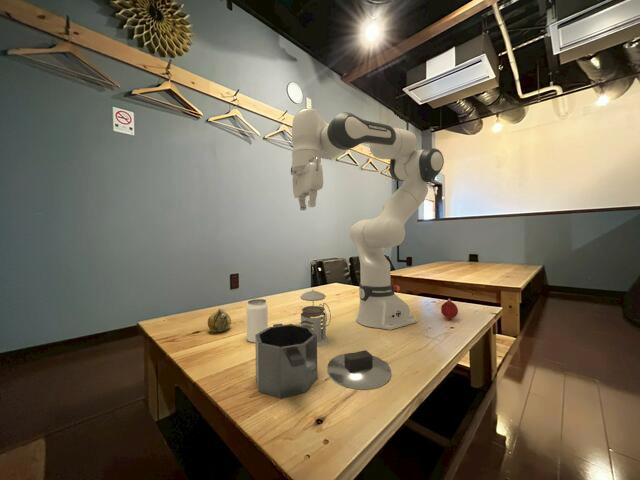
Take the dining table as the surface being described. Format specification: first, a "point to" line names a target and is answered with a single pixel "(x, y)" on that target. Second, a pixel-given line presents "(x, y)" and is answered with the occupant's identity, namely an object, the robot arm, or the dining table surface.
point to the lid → (359, 370)
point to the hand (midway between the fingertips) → (307, 208)
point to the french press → (315, 315)
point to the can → (256, 318)
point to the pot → (286, 360)
